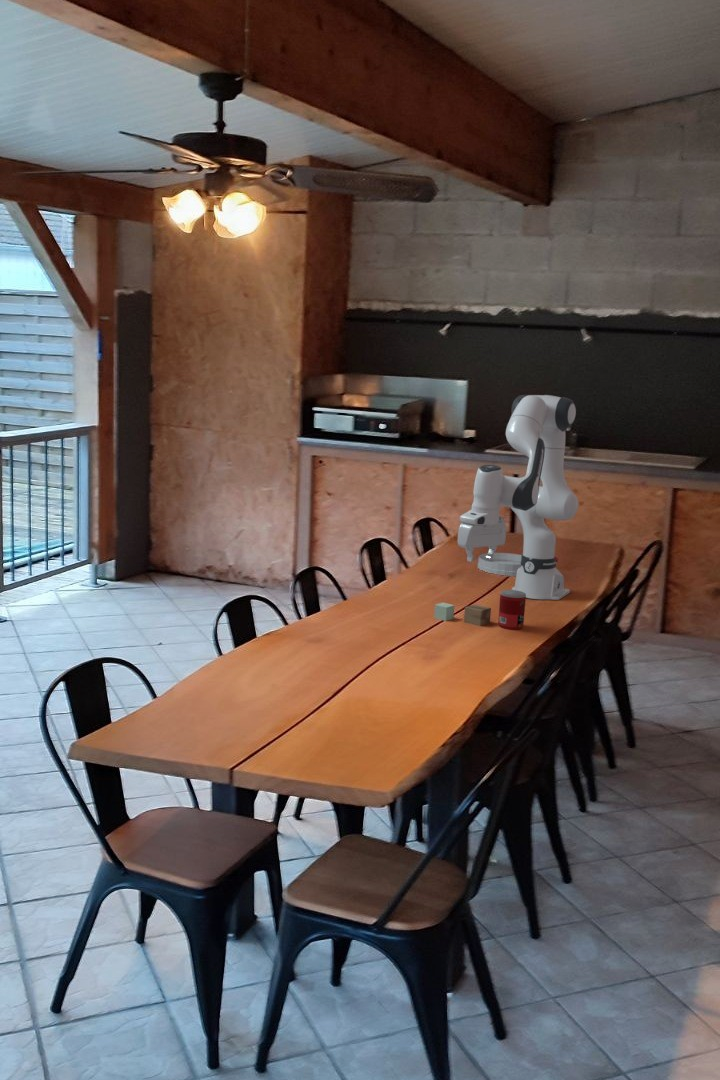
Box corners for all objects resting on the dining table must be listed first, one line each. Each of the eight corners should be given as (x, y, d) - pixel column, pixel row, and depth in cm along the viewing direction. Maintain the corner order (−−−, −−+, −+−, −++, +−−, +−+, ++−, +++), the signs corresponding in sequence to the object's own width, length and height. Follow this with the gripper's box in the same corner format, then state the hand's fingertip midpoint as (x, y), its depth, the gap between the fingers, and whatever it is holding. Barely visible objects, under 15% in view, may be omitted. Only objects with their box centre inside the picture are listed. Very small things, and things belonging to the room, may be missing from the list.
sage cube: (441, 615, 345) (442, 602, 344) (453, 618, 342) (454, 605, 341) (434, 618, 341) (434, 604, 340) (445, 621, 339) (446, 607, 338)
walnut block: (473, 619, 343) (475, 604, 342) (489, 623, 339) (491, 607, 338) (463, 622, 338) (464, 607, 337) (479, 626, 335) (481, 611, 334)
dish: (475, 574, 410) (476, 561, 409) (478, 562, 431) (479, 550, 430) (533, 579, 406) (534, 566, 405) (534, 567, 428) (535, 555, 427)
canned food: (522, 631, 331) (525, 596, 329) (496, 628, 333) (499, 594, 331) (523, 624, 339) (526, 591, 337) (498, 622, 340) (501, 588, 338)
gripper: (497, 514, 343) (492, 556, 345) (456, 516, 329) (451, 560, 331) (512, 517, 339) (507, 559, 341) (472, 519, 324) (467, 564, 327)
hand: (479, 560), depth 336 cm, fingers open, 8 cm apart
